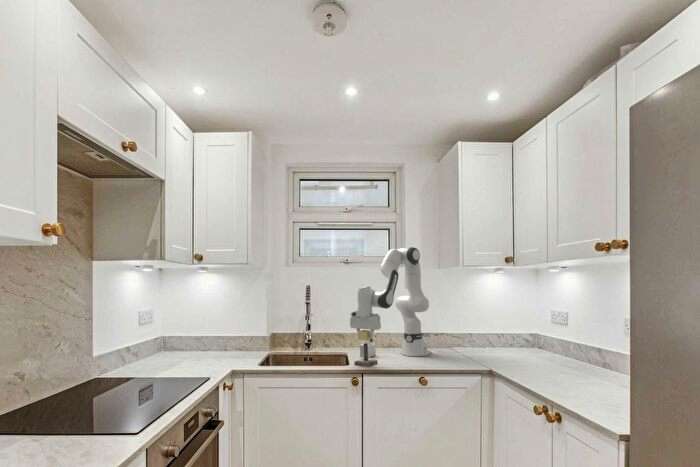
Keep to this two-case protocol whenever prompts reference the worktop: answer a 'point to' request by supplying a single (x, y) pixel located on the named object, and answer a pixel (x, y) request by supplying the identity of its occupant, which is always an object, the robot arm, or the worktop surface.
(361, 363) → the post board
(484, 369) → the worktop surface
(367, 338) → the collar
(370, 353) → the container
